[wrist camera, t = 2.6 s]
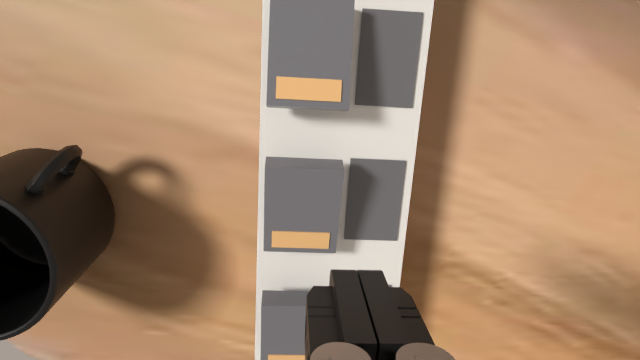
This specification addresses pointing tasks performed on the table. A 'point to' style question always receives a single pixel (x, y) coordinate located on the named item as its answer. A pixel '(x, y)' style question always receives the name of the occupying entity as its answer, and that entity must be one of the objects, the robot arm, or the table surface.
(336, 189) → the plate
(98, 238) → the mug
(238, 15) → the table surface
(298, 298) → the block
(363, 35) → the power strip
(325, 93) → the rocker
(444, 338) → the table surface
